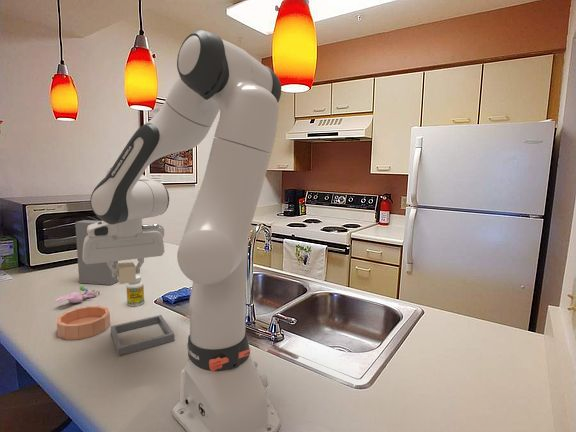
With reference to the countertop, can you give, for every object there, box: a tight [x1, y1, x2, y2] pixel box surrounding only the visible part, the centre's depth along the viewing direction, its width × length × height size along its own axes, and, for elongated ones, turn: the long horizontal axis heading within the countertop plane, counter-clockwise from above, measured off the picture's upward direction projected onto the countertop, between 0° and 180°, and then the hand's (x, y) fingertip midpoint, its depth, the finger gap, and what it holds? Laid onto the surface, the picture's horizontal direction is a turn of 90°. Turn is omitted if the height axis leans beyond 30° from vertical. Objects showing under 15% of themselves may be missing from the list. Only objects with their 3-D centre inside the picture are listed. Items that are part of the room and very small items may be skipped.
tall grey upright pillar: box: [74, 219, 119, 286], centre depth 133 cm, size 14×6×25 cm, turn 84°
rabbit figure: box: [54, 284, 101, 304], centre depth 115 cm, size 6×6×15 cm
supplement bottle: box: [126, 274, 145, 307], centre depth 115 cm, size 5×5×10 cm
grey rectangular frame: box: [109, 314, 175, 357], centre depth 93 cm, size 14×14×2 cm
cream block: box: [117, 261, 137, 285], centre depth 92 cm, size 5×4×4 cm
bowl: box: [56, 305, 111, 341], centre depth 97 cm, size 13×13×4 cm
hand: (126, 274), depth 92 cm, fingers closed on cream block, 4 cm apart
